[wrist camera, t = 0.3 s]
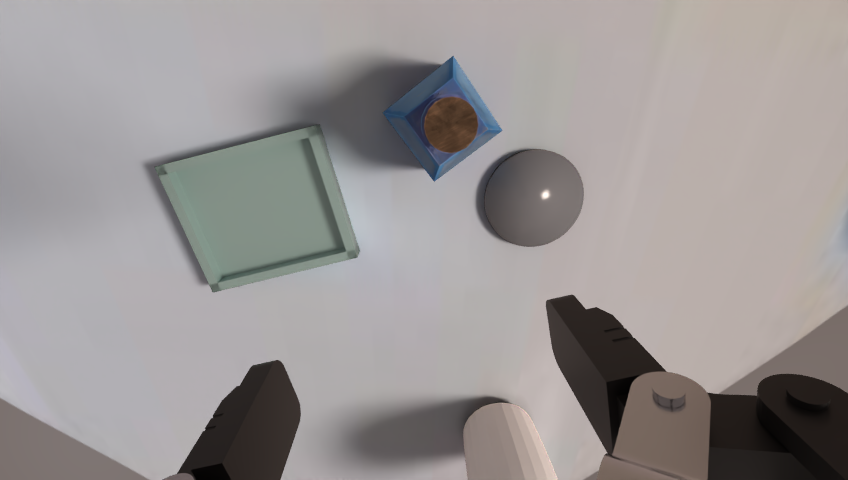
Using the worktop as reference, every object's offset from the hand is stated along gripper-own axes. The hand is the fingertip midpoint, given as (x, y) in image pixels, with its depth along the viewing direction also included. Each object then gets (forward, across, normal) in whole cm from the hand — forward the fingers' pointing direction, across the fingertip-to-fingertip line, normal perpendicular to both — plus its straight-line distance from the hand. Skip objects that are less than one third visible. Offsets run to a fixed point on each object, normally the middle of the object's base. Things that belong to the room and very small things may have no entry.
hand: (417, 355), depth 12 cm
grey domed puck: (+26, -11, +4) cm, 28 cm away
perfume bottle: (+26, -4, -5) cm, 27 cm away
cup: (+26, -3, +29) cm, 39 cm away
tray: (+26, +13, -1) cm, 29 cm away
